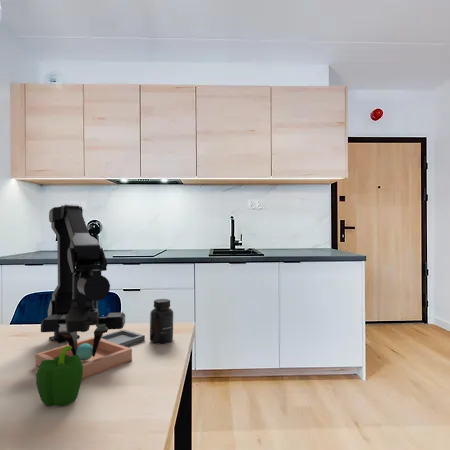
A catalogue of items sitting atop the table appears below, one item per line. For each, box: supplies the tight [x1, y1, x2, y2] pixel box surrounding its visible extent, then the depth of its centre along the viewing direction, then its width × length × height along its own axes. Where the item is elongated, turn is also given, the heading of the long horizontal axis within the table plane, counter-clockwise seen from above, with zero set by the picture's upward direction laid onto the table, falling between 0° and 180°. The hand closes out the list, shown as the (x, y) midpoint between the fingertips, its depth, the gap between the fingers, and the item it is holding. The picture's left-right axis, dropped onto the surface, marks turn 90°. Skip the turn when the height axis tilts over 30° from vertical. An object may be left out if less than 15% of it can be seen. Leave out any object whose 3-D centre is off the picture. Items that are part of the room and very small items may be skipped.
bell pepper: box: [35, 346, 83, 407], centre depth 66 cm, size 8×8×10 cm
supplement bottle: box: [149, 298, 174, 345], centre depth 101 cm, size 7×7×12 cm
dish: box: [35, 336, 133, 381], centre depth 84 cm, size 16×16×3 cm
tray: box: [101, 328, 146, 348], centre depth 100 cm, size 10×10×2 cm
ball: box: [76, 343, 93, 361], centre depth 84 cm, size 4×4×4 cm
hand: (84, 356), depth 84 cm, fingers closed on ball, 4 cm apart
